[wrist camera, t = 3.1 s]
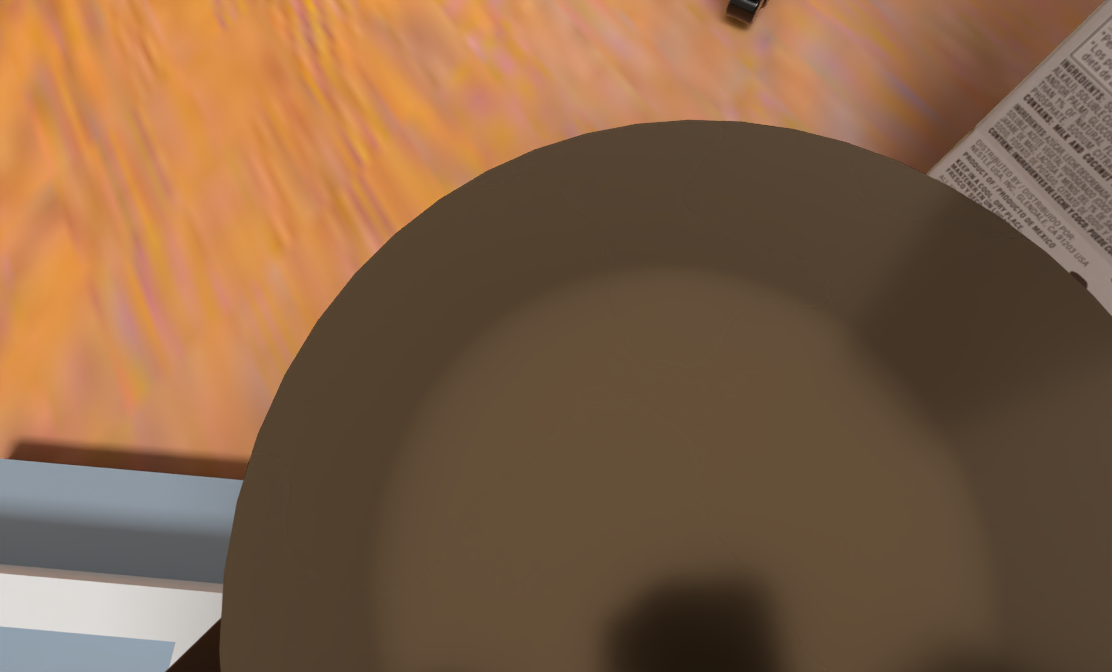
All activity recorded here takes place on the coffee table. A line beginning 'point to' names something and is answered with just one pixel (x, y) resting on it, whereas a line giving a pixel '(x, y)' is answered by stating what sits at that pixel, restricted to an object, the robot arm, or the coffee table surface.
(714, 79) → the coffee table surface
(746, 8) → the valve
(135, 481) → the collar plate
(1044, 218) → the cookie box
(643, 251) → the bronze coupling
